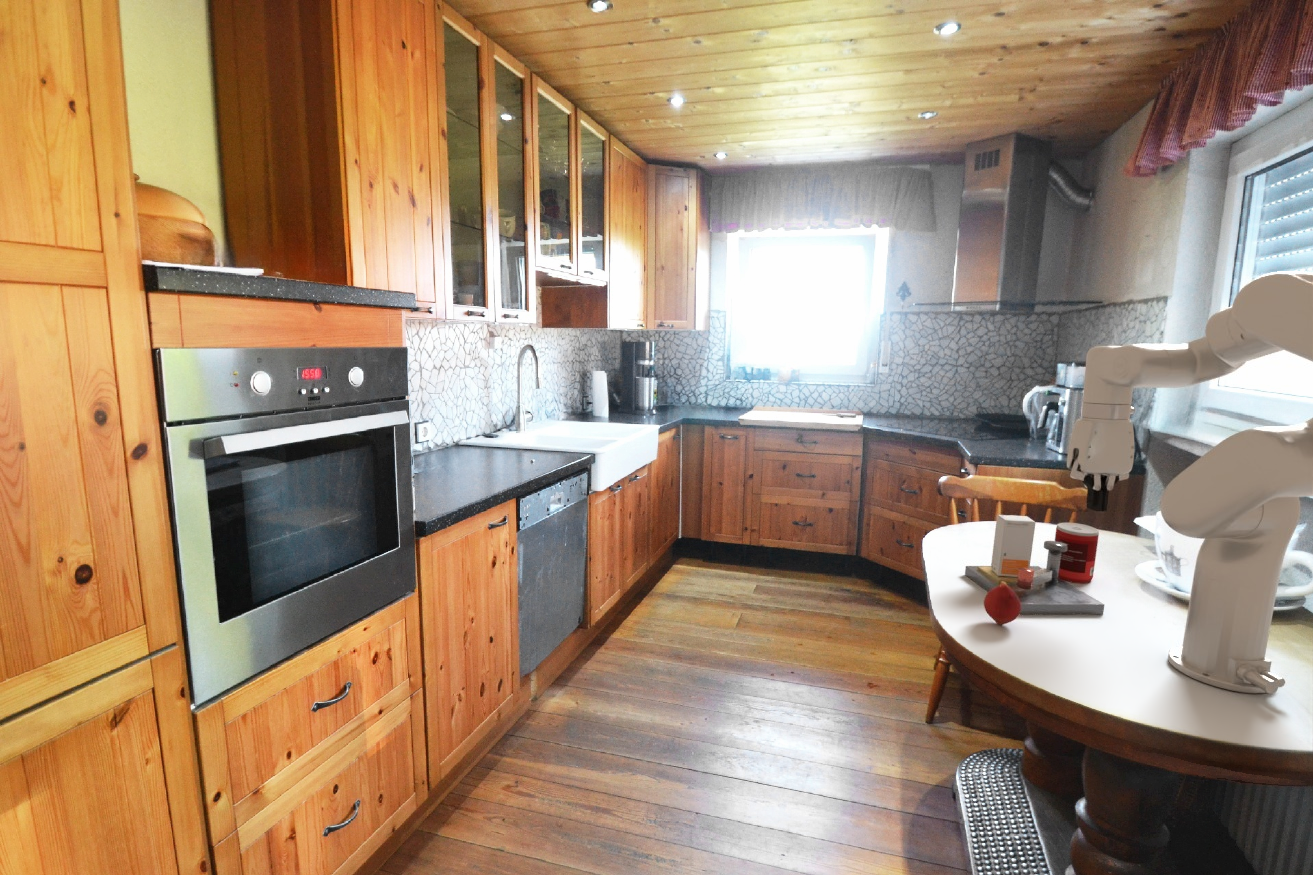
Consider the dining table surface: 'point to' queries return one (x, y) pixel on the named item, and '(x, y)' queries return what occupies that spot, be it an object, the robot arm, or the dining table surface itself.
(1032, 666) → the dining table surface
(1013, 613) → the onion
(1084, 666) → the dining table surface
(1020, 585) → the lever
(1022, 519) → the skincare box
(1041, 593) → the press bed
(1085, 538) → the canned food
